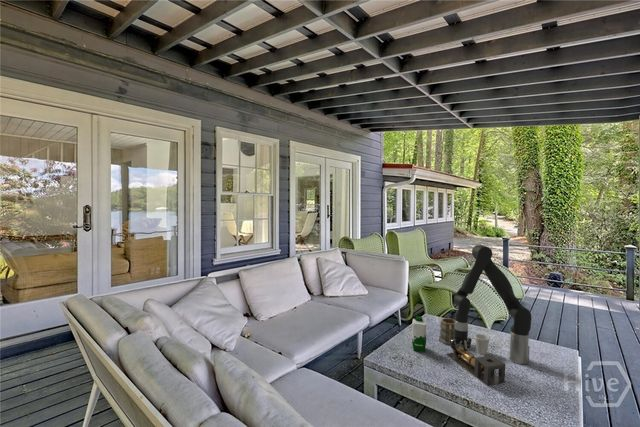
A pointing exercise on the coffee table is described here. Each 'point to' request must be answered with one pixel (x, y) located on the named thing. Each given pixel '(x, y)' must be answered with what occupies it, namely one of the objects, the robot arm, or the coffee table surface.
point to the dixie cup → (482, 343)
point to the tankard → (447, 330)
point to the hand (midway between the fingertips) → (460, 355)
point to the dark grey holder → (489, 370)
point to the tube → (468, 358)
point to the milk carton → (419, 334)
